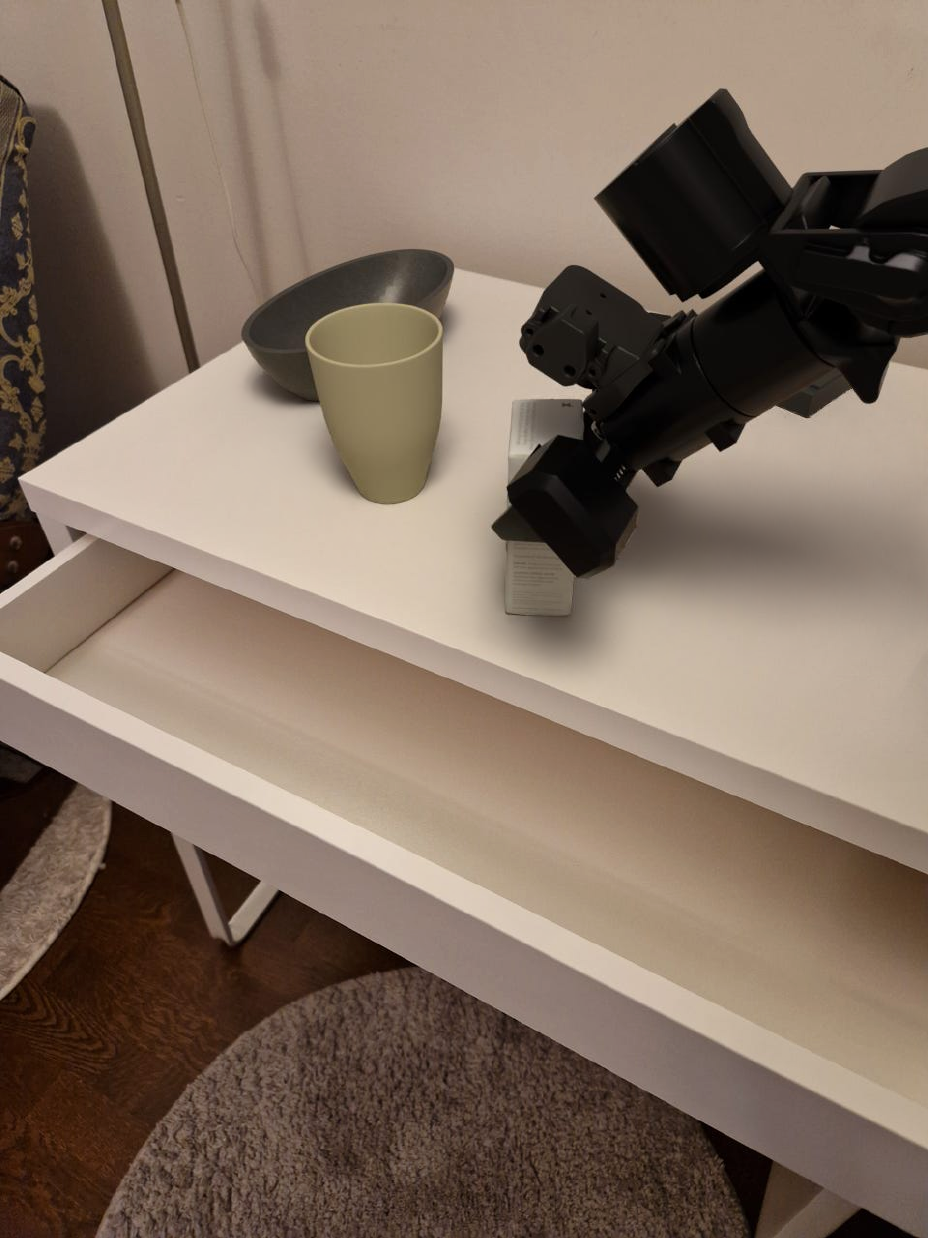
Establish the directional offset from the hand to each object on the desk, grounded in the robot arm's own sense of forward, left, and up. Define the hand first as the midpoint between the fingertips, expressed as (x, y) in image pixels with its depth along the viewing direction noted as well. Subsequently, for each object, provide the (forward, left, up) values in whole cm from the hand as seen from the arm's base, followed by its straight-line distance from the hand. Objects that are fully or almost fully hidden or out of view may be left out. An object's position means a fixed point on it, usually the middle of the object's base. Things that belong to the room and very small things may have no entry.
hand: (521, 498), depth 58 cm
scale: (-19, -27, -7) cm, 34 cm away
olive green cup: (+11, -11, -7) cm, 17 cm away
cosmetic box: (-1, 0, -7) cm, 7 cm away
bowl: (+17, -28, -7) cm, 33 cm away
